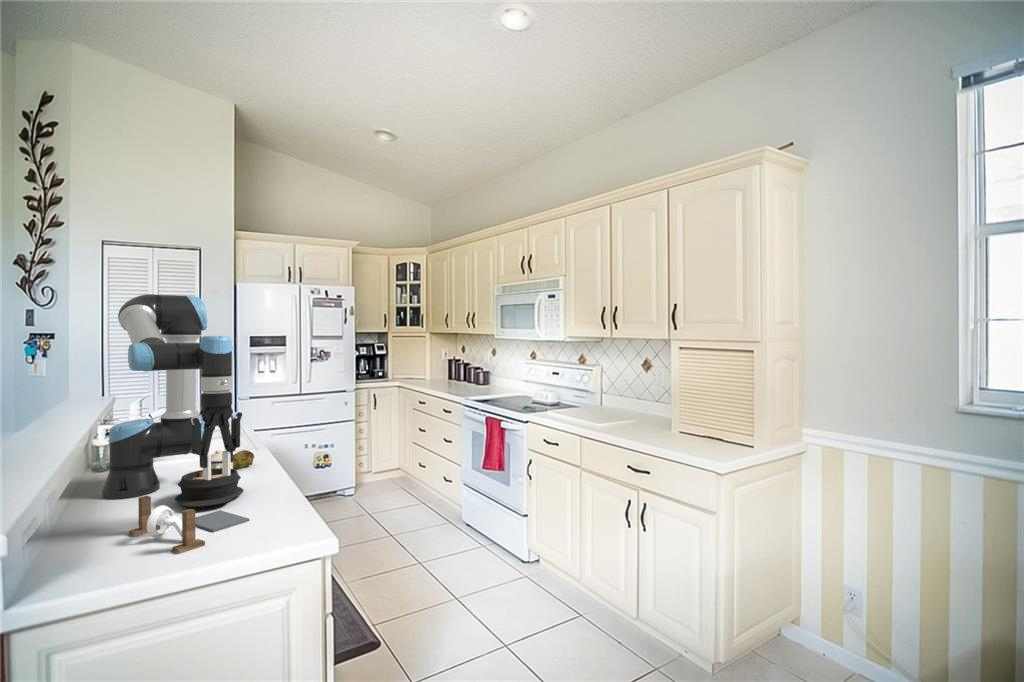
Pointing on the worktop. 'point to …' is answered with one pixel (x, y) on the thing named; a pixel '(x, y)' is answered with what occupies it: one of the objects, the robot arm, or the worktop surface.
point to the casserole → (208, 488)
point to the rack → (144, 514)
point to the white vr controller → (163, 521)
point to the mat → (218, 520)
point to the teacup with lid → (217, 460)
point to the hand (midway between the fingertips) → (216, 476)
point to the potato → (242, 459)
